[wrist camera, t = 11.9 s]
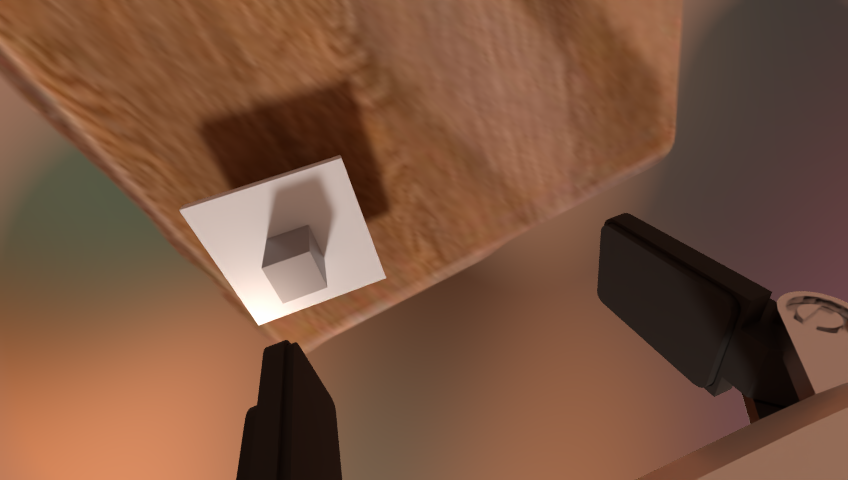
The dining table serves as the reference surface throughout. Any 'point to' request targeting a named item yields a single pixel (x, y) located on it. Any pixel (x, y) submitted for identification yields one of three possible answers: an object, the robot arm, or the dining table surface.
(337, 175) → the lid
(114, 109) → the dining table surface
